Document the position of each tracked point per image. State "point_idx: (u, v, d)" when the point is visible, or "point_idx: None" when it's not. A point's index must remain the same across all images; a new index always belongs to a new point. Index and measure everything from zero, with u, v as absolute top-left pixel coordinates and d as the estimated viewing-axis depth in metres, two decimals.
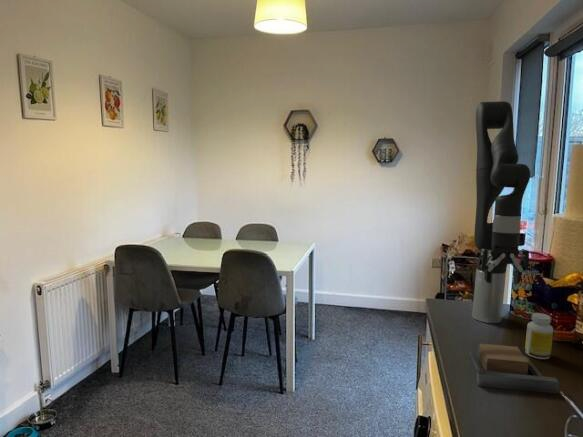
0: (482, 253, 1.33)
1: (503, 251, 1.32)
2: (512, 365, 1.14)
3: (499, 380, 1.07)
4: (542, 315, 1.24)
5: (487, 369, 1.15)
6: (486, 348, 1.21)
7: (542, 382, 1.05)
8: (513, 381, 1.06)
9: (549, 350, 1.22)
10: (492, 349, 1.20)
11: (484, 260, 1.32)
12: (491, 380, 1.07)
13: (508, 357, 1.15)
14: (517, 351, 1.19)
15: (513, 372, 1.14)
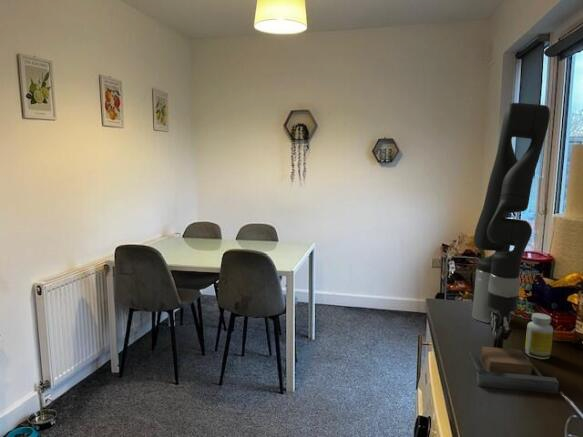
0: (507, 332, 1.16)
1: None
2: (516, 369, 1.12)
3: (499, 380, 1.07)
4: (542, 315, 1.24)
5: None
6: (489, 350, 1.19)
7: (542, 382, 1.05)
8: (513, 381, 1.06)
9: (549, 350, 1.22)
10: (495, 352, 1.18)
11: None
12: (491, 380, 1.07)
13: (511, 360, 1.14)
14: (520, 354, 1.17)
15: None
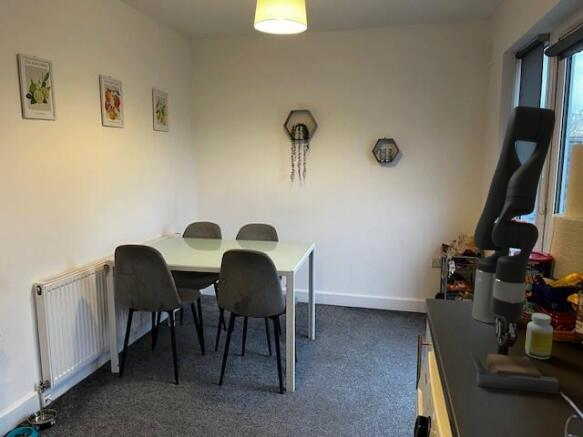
0: (513, 339, 1.12)
1: None
2: None
3: (499, 380, 1.07)
4: (542, 315, 1.24)
5: None
6: (495, 358, 1.15)
7: (542, 382, 1.05)
8: (513, 381, 1.06)
9: (549, 350, 1.22)
10: (502, 360, 1.14)
11: None
12: (491, 380, 1.07)
13: (519, 369, 1.09)
14: (528, 362, 1.13)
15: None
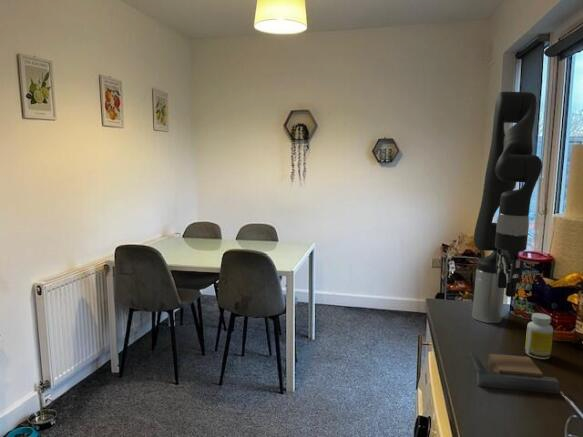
0: (519, 266, 1.10)
1: None
2: None
3: (499, 380, 1.07)
4: (542, 315, 1.24)
5: None
6: (497, 358, 1.15)
7: (542, 382, 1.05)
8: (513, 381, 1.06)
9: (549, 350, 1.22)
10: (503, 360, 1.14)
11: None
12: (491, 380, 1.07)
13: (521, 369, 1.09)
14: (530, 362, 1.13)
15: None
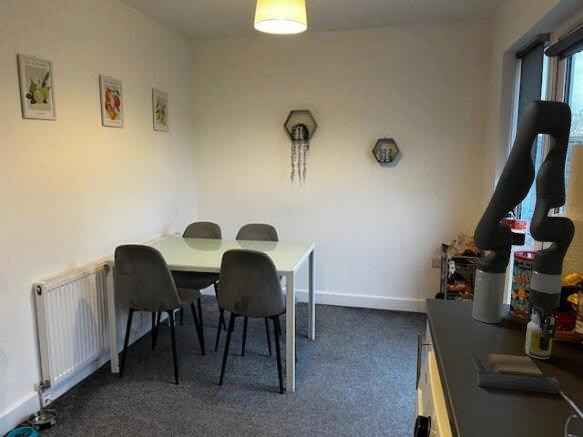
0: (553, 323, 1.17)
1: None
2: None
3: (499, 380, 1.07)
4: None
5: None
6: (497, 358, 1.15)
7: (542, 382, 1.05)
8: (513, 381, 1.06)
9: (549, 350, 1.22)
10: (503, 360, 1.14)
11: None
12: (491, 380, 1.07)
13: (521, 369, 1.09)
14: (529, 362, 1.13)
15: None
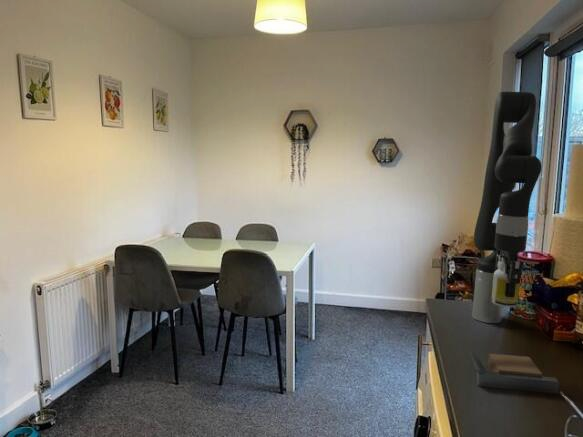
0: (518, 266, 1.11)
1: None
2: None
3: (499, 380, 1.07)
4: None
5: None
6: (497, 358, 1.15)
7: (542, 382, 1.05)
8: (513, 381, 1.06)
9: (516, 298, 1.16)
10: (503, 360, 1.14)
11: None
12: (491, 380, 1.07)
13: (520, 369, 1.09)
14: (529, 362, 1.13)
15: None
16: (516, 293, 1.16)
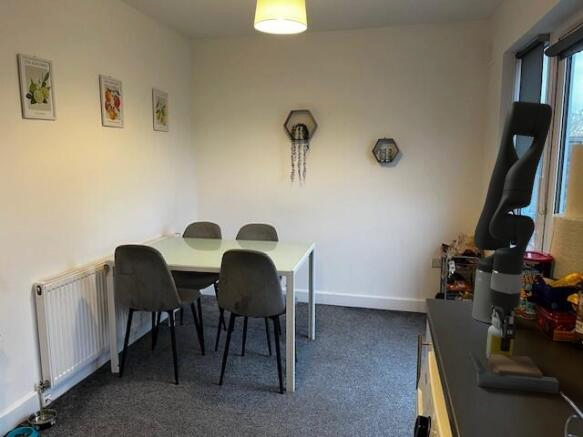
0: (512, 322, 1.13)
1: None
2: None
3: (499, 380, 1.07)
4: None
5: None
6: (497, 358, 1.15)
7: (542, 382, 1.05)
8: (513, 381, 1.06)
9: None
10: (503, 360, 1.14)
11: None
12: (491, 380, 1.07)
13: (521, 369, 1.09)
14: (529, 362, 1.13)
15: None
16: (510, 350, 1.18)
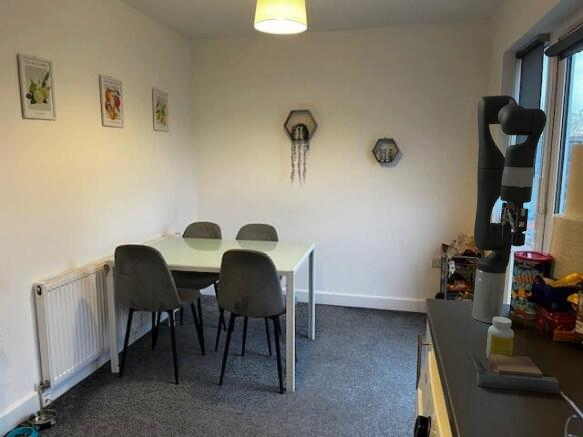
0: (524, 213, 1.13)
1: None
2: None
3: (499, 380, 1.07)
4: (503, 319, 1.20)
5: None
6: (497, 358, 1.15)
7: (542, 382, 1.05)
8: (513, 381, 1.06)
9: None
10: (503, 360, 1.14)
11: None
12: (491, 380, 1.07)
13: (521, 369, 1.09)
14: (529, 362, 1.13)
15: None
16: (510, 350, 1.18)
